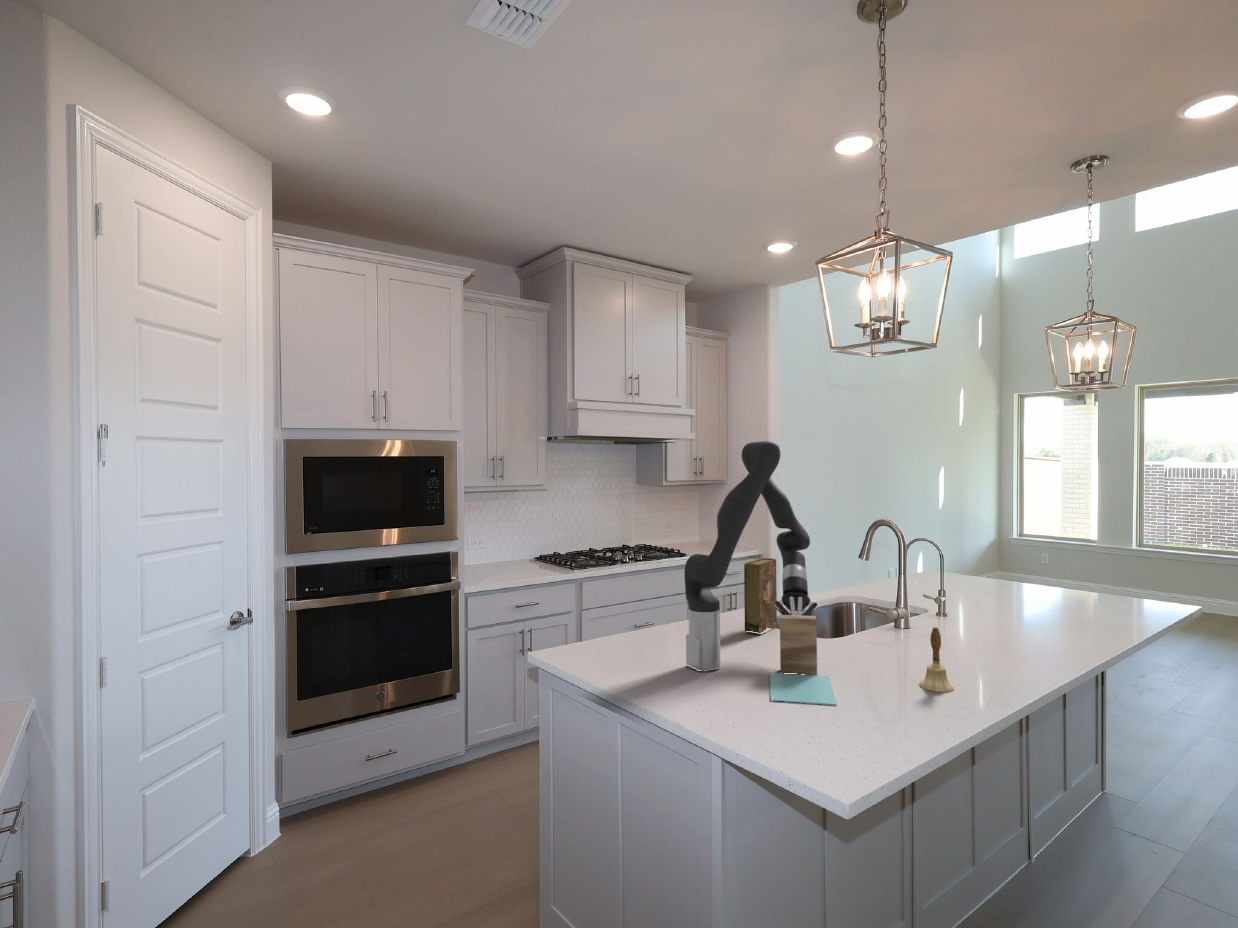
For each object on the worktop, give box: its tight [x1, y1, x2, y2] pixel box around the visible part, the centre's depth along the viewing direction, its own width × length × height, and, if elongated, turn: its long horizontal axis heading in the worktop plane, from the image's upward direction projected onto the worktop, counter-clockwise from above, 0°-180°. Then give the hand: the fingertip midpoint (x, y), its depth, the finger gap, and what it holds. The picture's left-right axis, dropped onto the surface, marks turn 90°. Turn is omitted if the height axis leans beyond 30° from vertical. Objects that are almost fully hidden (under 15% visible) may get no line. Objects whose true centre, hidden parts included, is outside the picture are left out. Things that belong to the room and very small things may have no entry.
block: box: [779, 614, 818, 675], centre depth 188 cm, size 4×10×16 cm, turn 77°
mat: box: [769, 672, 838, 707], centre depth 174 cm, size 22×16×1 cm
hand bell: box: [919, 626, 955, 693], centre depth 175 cm, size 8×8×16 cm
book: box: [743, 557, 778, 633], centre depth 237 cm, size 16×6×25 cm, turn 143°
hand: (797, 630), depth 192 cm, fingers closed
